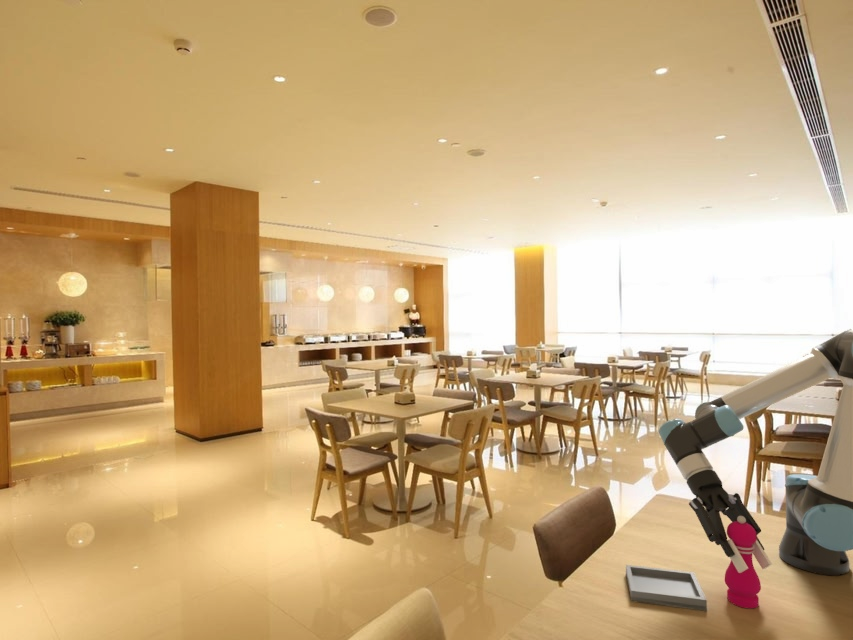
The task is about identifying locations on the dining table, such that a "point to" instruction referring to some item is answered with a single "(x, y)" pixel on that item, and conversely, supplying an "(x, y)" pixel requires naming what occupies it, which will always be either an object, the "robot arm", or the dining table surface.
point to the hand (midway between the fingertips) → (755, 568)
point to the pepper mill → (748, 581)
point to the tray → (665, 587)
